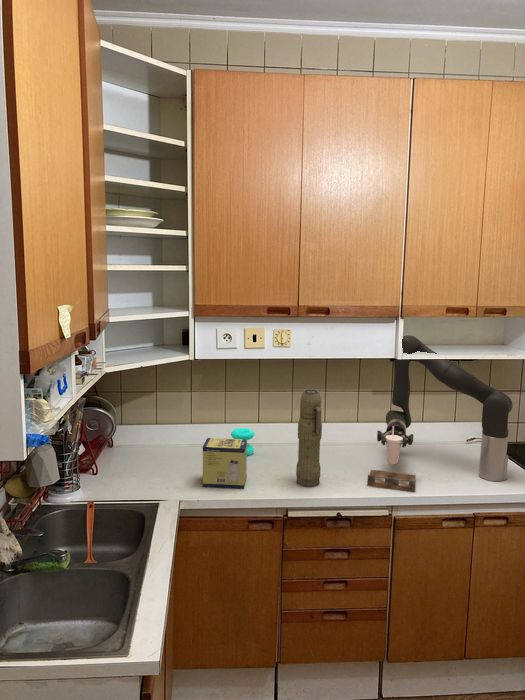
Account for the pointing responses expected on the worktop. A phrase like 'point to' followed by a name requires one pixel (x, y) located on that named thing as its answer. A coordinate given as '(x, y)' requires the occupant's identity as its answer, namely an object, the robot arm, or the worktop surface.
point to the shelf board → (391, 480)
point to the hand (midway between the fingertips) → (393, 443)
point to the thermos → (309, 439)
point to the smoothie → (393, 447)
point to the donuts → (244, 437)
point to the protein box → (225, 463)
